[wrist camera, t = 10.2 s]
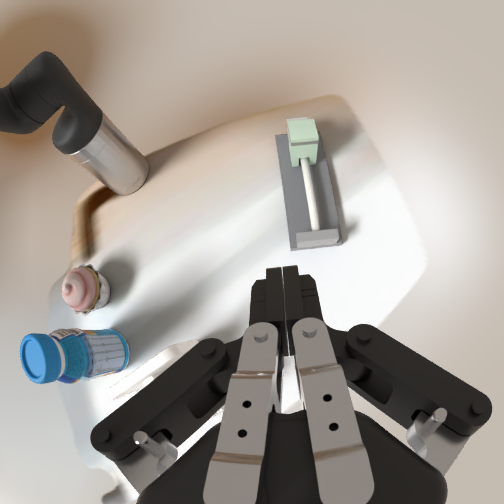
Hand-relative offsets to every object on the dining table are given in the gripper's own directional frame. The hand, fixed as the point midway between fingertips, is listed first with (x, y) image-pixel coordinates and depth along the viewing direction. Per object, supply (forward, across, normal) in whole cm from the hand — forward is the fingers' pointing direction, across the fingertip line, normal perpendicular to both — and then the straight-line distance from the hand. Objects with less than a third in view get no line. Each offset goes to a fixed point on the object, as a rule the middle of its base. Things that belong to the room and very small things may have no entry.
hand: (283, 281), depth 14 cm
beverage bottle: (+16, +32, +26) cm, 44 cm away
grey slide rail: (+35, -5, +8) cm, 36 cm away
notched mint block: (+37, -5, +3) cm, 37 cm away
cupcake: (+24, +35, +18) cm, 46 cm away
